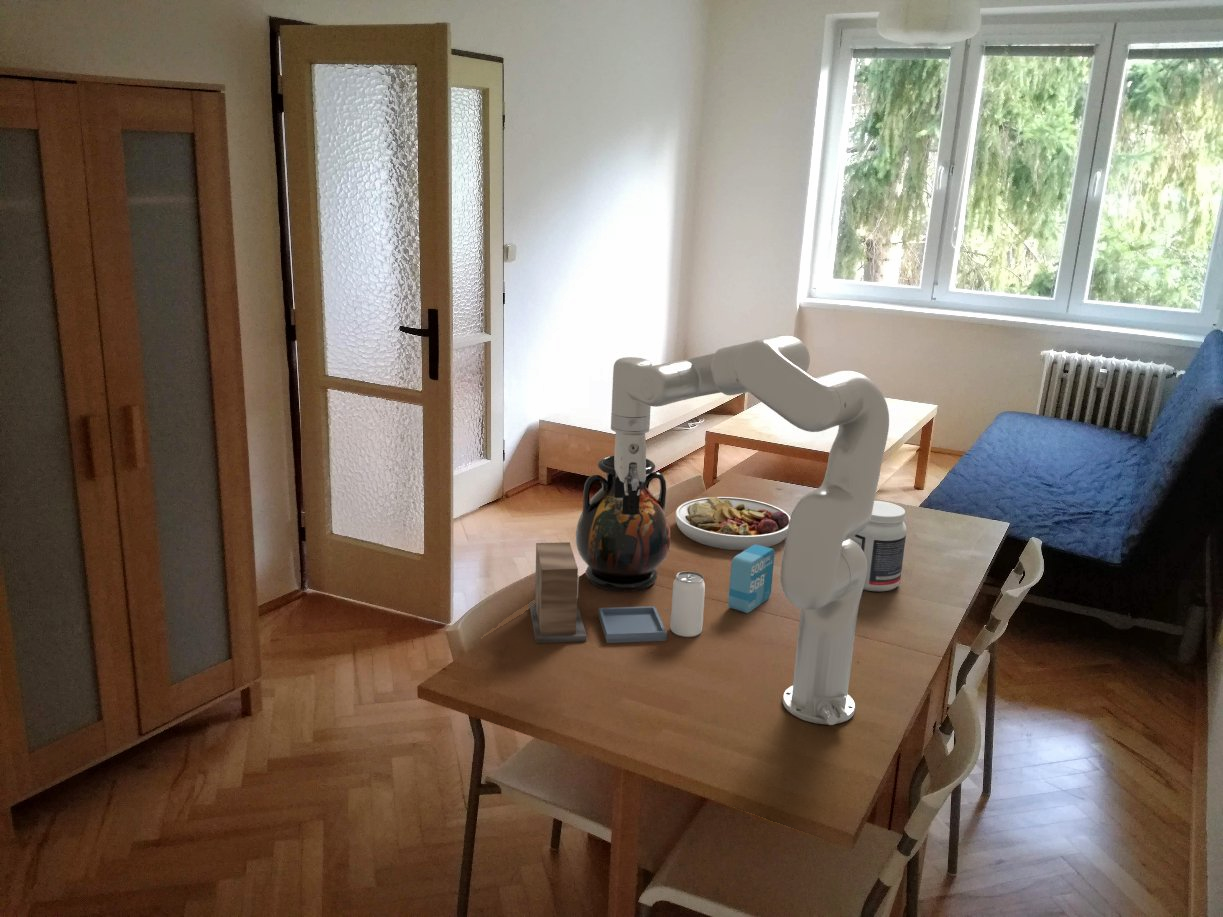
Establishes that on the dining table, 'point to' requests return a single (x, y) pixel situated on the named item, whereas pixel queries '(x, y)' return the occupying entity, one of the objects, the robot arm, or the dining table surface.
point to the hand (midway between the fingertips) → (626, 505)
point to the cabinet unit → (556, 595)
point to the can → (687, 604)
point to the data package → (751, 578)
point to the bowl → (732, 522)
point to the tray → (632, 624)
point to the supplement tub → (883, 546)
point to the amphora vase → (622, 533)
